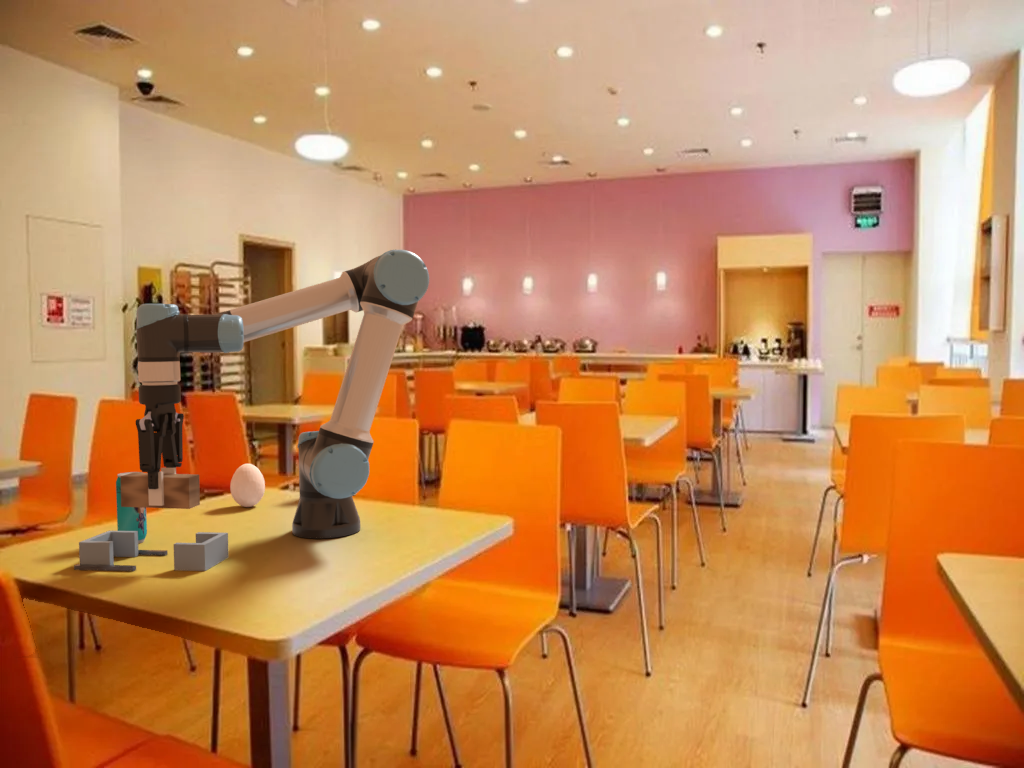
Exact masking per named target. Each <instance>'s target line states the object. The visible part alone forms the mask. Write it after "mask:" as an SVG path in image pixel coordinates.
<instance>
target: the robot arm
mask: <svg viewBox="0 0 1024 768" xmlns="http://www.w3.org/2000/svg"><path fill="white" fill-rule="evenodd" d="M429 284H430V274H429V270H428V267H427V266H426V264H425V262H424V260H422V258H421V257H420V256H419V255H417V254H416V253H414V252H413V251H409V250H406V249H390V250H388V251H385V252H384V253H383V254H380V255H378V256H375V257H374V258H371V259H370V260H368V261H367V262H365V263H363V264H361V265H358V266H356V267H354V268H352V269H348V270H345V271H342V272H341V274H340V276H339V277H336V278H333V279H331V280H327V281H323V282H320V283H317V284H314V285H310V286H305V287H303V288H299V289H296V290H294V291H289V292H286V293H282V294H279V295H275V296H273V297H269V298H265V299H262V300H260V301H255V302H252V303H248V304H245V305H242V306H238V307H235V308H233V309H232V308H231V309H228V310H226V311H222V312H219V313H214V314H186V313H185V314H184V313H180V310H179V306H178V305H177V304H174V303H142V304H140V305H139V306H138V307H137V309H136V326H135V327H136V328H135V329H136V348H137V362H138V363H137V367H136V368H137V372H138V375H137V376H138V379H137V380H138V382H139V383H141V385H139V386H138V403H139V404H140V405H144V406H145V409H144V412H143V413H144V415H143V416H144V417H142V418H137V419H136V420H135V426H136V430H137V440H138V441H137V442H138V444H137V445H138V459H139V460H138V461H139V469H140V471H141V472H142V473H148V494H149V506H163V505H164V484H163V474H177V468H181V467H182V465H183V463H182V462H183V460H184V459H183V454H184V453H183V449H184V448H183V447H184V446H183V445H184V444H183V425H184V424H183V423H184V417H185V415H184V413H182V412H181V413H180V412H179V413H178V412H177V409H176V406H175V404H180V403H181V401H182V396H181V395H182V393H181V390H182V389H181V385H180V384H178V382H180V381H181V380H182V379H181V363H180V361H181V357H180V354H181V353H224V354H228V353H239V352H241V351H243V348H244V343H246V342H249V341H252V340H256V339H259V338H262V337H265V336H268V335H273V334H276V333H279V332H283V331H285V330H289V329H292V328H296V327H298V326H302V325H304V324H305V325H306V324H308V323H311V322H314V321H318V320H321V319H322V320H323V319H325V318H328V317H332V316H335V315H338V314H340V313H344V312H348V311H352V312H354V313H359V312H363V316H362V320H361V324H360V326H359V329H358V332H357V334H356V338H355V342H354V344H353V348H352V351H351V354H350V356H349V361H348V362H347V366H346V369H345V373H344V376H343V379H342V382H341V386H340V389H339V391H338V394H337V398H336V402H335V405H334V406H333V410H332V413H331V417H330V420H329V421H327V422H325V423H323V424H320V427H319V429H318V430H316V431H315V430H313V431H305V432H304V431H303V432H301V433H300V434H299V436H298V441H297V449H298V482H299V500H298V503H297V507H296V509H295V513H294V518H293V520H292V523H291V524H292V525H291V527H292V529H291V530H292V534H293V535H294V536H295V537H299V538H304V539H305V538H306V539H332V538H334V539H335V538H341V537H345V536H346V537H347V536H351V535H353V534H356V533H358V532H359V531H360V530H361V518H360V515H359V512H358V509H357V507H356V504H355V500H354V498H353V496H355V495H354V494H356V495H357V494H358V493H359V492H360V491H361V490H362V489H363V488H364V487H365V485H366V484H367V481H368V478H369V475H370V462H369V458H370V455H371V452H372V449H373V445H374V442H375V441H374V439H373V437H372V435H371V433H370V431H371V428H372V425H373V422H374V418H375V415H376V412H377V409H378V407H379V406H378V405H379V403H380V399H381V396H382V393H383V389H384V387H385V383H386V381H387V380H386V379H387V377H388V373H389V370H390V368H391V366H392V365H391V364H392V361H393V358H394V355H395V353H396V352H395V351H396V349H397V345H398V342H399V339H400V336H401V333H402V331H403V327H404V326H405V325H406V324H408V323H410V322H413V319H414V315H415V313H416V310H417V305H418V302H419V301H420V300H422V298H423V297H424V296H425V295H426V293H427V291H428V289H429ZM162 462H163V467H162V466H161V465H162ZM352 495H353V496H352Z"/></svg>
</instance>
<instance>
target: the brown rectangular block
mask: <svg viewBox="0 0 1024 768" xmlns="http://www.w3.org/2000/svg"><path fill="white" fill-rule="evenodd" d="M163 484H164V505H163V506H149V494H148V473H147V472H142V473H130V474H126V475H123V476H121V507H144V508H146V509H152V508H153V509H179V510H180V509H182V510H183V509H184V510H190V509H193V508H195V507H197V506H200V504H201V498H200V495H201V494H200V487H201V486H200V474H191V473H190V474H189V473H176V474H163Z"/></svg>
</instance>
